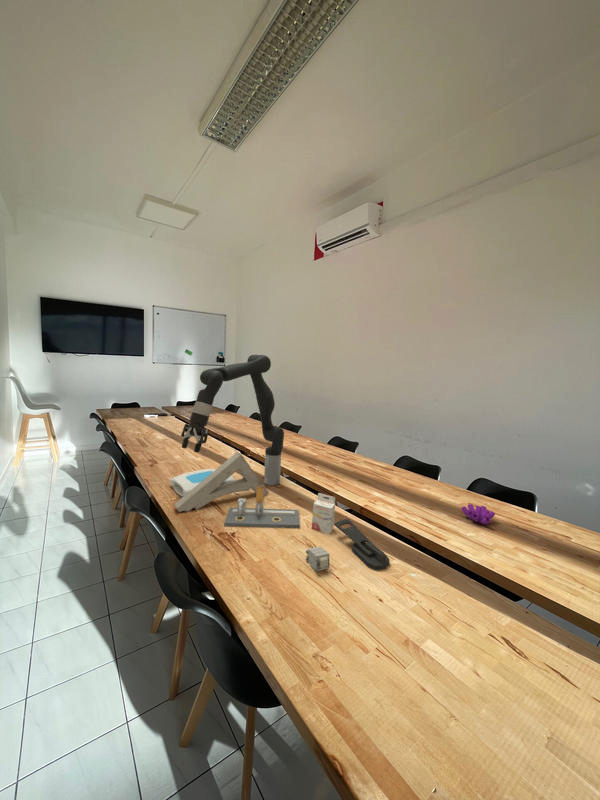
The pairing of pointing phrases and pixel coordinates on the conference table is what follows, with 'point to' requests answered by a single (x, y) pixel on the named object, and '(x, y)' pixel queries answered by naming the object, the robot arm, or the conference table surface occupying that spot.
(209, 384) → the robot arm
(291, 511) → the gauge plate
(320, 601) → the conference table surface
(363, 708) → the conference table surface
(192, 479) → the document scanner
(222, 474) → the wall bracket
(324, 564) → the electrical component
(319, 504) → the ink cartridge box
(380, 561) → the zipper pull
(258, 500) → the sliding divider leg
